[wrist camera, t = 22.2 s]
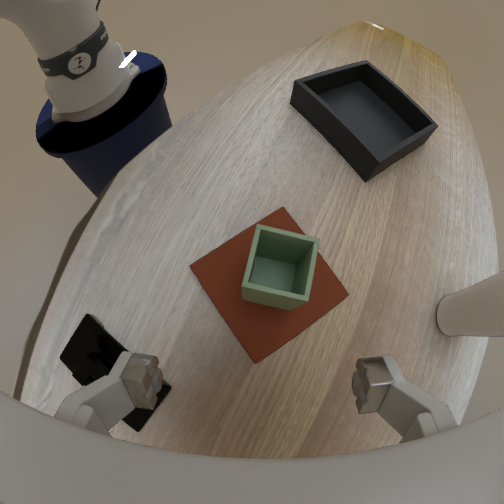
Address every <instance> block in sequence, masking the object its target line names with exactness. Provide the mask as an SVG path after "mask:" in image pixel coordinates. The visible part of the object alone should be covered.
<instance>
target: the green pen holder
mask: <svg viewBox="0 0 504 504" xmlns="http://www.w3.org/2000/svg"><path fill="white" fill-rule="evenodd" d="M319 240H320V239H318V238H314V237H310V236H306V235H302V234H298V233H294V232H290V231H286V230H282V229H277V228H273V227H269V226H265V225H261V224H257V226H256V230H255V234H254V238H253V242H252V246H251V250H250V254H249V258H248V262H247V266H246V270H245V274H244V278H243V282H242V300H245V301H250V302H254V303H258V304H262V305H267V306H271V307H275V308H280V309H284V310H289V311H291V310H293V309H295V308H297V307H299V306H301V305H303V304H304V303H306V302H308V300H309V295H310V290H311V285H312V280H313V274H314V269H315V263H316V258H317V252H318V246H319Z"/></svg>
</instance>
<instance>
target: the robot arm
mask: <svg viewBox="0 0 504 504" xmlns="http://www.w3.org/2000/svg"><path fill="white" fill-rule="evenodd" d="M100 1H101V0H98V3H97V5H96V8H95V5H94V2H93V0H0V18H3V19H6V20H9V21H11V22H12V23H14V24H15V25H17V26H18V27H19V28H20V29H21V30H22V31H23V33H24V34H25V36H26V37H27V38H28V40H29V42H30V43H31V45H32V46H33V48H34V50H35V51H36V53H37V55H38V62H39V64H40V68H41V69H42V70H43V72H44V73H45V75H46V76H47V79H46V82H45V87H44V90H45V92H46V94H47V96H48V97H49V99H50V101H51V103H52V104H53V109H52V121H53V123H55V124H56V123H61V122H64V121H68V122H82V121H86V120H89V119H92V118H94V117H96V116H98V115H100V114H102V113H103V112H105V111H107V110H108V109H110V108H111V107H112V106H114V105H115V104H116V103H117V102H118V101H119V100H120V99H121V98H122V97H123V96H124V95H125V93H126V92H127V90H128V89H129V86H130V84H131V82H132V80H133V79H134V78H135V77H136V76H137V75H138V74H139V73H140V69H139V67H138V66H137V65H135V64H133V63H132V62H130V60H131V59H132V58H133V57H134V56H135V55H136V51H135V50H134V51H133V52H132V53H131V54H130V55H129V56H128V57H127V58H126V57H125V55H124V53H123V50H122V48H121V45H120V44H119V43H116V42H115V41H111V40H109V39H108V34H107V30H106V27H105V26H104V24H103V22H102V21H100V20H99V18H98V14H97V10H98V6H99V3H100ZM158 364H159V361H158V358H157V357H156V356H153V355H147V354H140V353H132V352H127V351H123V352H122V353H121V354H120V356H119V358H118V359H117V361H116V363H115V364H114V366H113V368H112V370H111V371H110V373H109V375H108V376H103V377H101V378H100V379H98V380H96V381H94V382H93V383H91V384H89V385H87V386H85V387H84V388H82V389H80V390H78V391H77V392H75V393H73V394H71V395H69V396H68V397H66V398H65V399H64V401H63V402H62V404H61V406H60V407H59V409H58V410H57V412H56V414H55V416H54V417H52V416H50V415H48V414H45V413H43V412H41V411H39V410H37V409H34V408H32V407H30V406H28V405H26V404H24V403H22V402H20V401H18V400H16V399H14V398H12V397H10V396H9V395H7V394H5V393H3V392H1V391H0V504H504V407H501V408H499V409H497V410H495V411H493V412H491V413H488V414H486V415H484V416H482V417H479V418H477V419H475V420H472V421H470V422H467V423H465V424H462V425H459V426H458V425H457V423H456V421H455V419H454V417H453V415H452V413H451V411H450V409H449V407H448V405H446V404H444V403H443V402H441V401H440V400H438V399H437V398H435V397H433V396H432V395H430V394H429V393H427V392H426V391H424V390H423V389H421V388H419V387H418V386H416V385H415V384H413V383H412V382H410V381H406V380H405V378H404V376H403V374H402V372H401V370H400V368H399V366H398V364H397V362H396V360H395V358H394V356H393V355H386V356H381V357H380V356H378V357H370V358H360V359H358V360H357V363H356V368H357V370H356V371H355V372H354V373H353V376H352V384H351V385H352V391H353V394H354V395H355V396H356V397H357V399H356V406H357V409H358V413H359V414H364V413H373V412H378V414H379V415H380V416H381V417H383V418H384V419H385V420H386V421H387V422H388V423H389V424H390V425H391V426H392V427H393V428H394V429H395V430H396V431H397V432H398V433H399V434H400V435H401V436H403V438H402V440H401V441H400V442H399V444H396V445H391V446H387V447H382V448H377V449H372V450H366V451H360V452H354V453H347V454H339V455H331V456H320V457H308V458H288V459H249V458H229V457H216V456H206V455H197V454H190V453H183V452H176V451H170V450H165V449H159V448H154V447H149V446H145V445H140V444H136V443H132V442H128V441H124V440H120V439H116V438H113V437H112V436H111V435H110V434H109V432H108V430H109V429H111V428H112V427H113V426H114V425H116V424H117V423H118V422H119V421H120V420H122V419H123V418H124V417H125V416H126V415H128V414H129V413H130V412H131V411H132V410H133V409H135V407H137V408H143V409H150V410H154V407H155V404H156V401H157V399H158V398H157V396H156V393H158V392H159V391H160V390H161V388H162V383H163V375H162V371H161V369H160V368H158V367H157V366H158Z"/></svg>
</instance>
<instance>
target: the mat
mask: <svg viewBox="0 0 504 504" xmlns="http://www.w3.org/2000/svg"><path fill="white" fill-rule="evenodd" d="M257 224H261V225H265V226H269V227H273V228H277V229H282V230H286V231H290V232H294V233H298V234H302V235H305V234H304V233H303V231H302V230H301V229H300V227H299V226H298V225H297V223H296V222H295V221H294V220H293V218H292V217H291V216H290V214H289V213H288V212H287V211H286V209H285V208H284V207H281V208H280V209H278V210H276V211H275V212H273V213H271V214H270V215H268V216H267V217H265V218H263V219H262V220H260V221H259V222H257V223H255V224H254V225H252V226H251V227H249V228H247V229H246V230H244V231H243V232H241V233H240V234H238V235H236V236H235V237H233V238H232V239H230V240H229V241H227V242H225V243H224V244H222V245H221V246H219V247H218V248H216V249H214V250H213V251H211V252H210V253H208V254H207V255H205V256H203V257H202V258H200V259H199V260H197V261H196V262H194V263H193V264H191V265H190V267H191V269H192V270H193V272H194V274H195V275H196V277H197V278H198V280H199V281H200V283H201V284H202V286H203V288H204V289H205V291H206V292H207V294H208V295H209V297H210V298H211V300H212V301H213V303H214V304H215V306H216V307H217V309H218V310H219V312H220V313H221V315H222V316H223V318H224V319H225V321H226V322H227V324H228V325H229V327H230V328H231V330H232V331H233V332H234V334H235V335H236V337H237V338H238V340H239V341H240V342H241V344H242V345H243V347H244V348H245V350H246V351H247V352H248V354H249V355H250V357H251V358H252V359H253V361H254V362H255V364H256V363H258V362H259V361H261V360H262V359H264V358H265V357H267V356H268V355H270V354H271V353H273V352H274V351H275V350H277V349H278V348H280V347H281V346H283V345H284V344H285V343H287V342H288V341H290V340H291V339H292V338H294V337H295V336H296V335H298V334H299V333H301V332H302V331H303V330H305V329H306V328H307V327H309V326H310V325H311V324H313V323H314V322H315V321H317V320H318V319H319V318H320V317H322V316H323V315H324V314H326V313H327V312H328V311H330V310H331V309H332V308H333V307H335V306H336V305H337V304H338V303H340V302H341V301H342V300H343V299H345V298H346V297H347V296H348V295H349V294H348V292H347V291H346V289H345V288H344V287H343V285H342V284H341V282H340V281H339V280H338V278H337V277H336V276H335V274H334V273H333V271H332V270H331V269H330V267H329V266H328V265H327V263H326V262H325V260H324V259H323V258H322V256H321V255H320V254H319V252H317V258H316V263H315V269H314V274H313V280H312V285H311V290H310V295H309V300H308V302H306V303H304V304H303V305H301V306H299V307H297V308H295V309H293V310H291V311H289V310H284V309H280V308H275V307H271V306H267V305H262V304H258V303H254V302H250V301H245V300H242V282H243V278H244V274H245V270H246V266H247V262H248V258H249V254H250V250H251V246H252V242H253V238H254V234H255V230H256V226H257Z"/></svg>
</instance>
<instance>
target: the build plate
mask: <svg viewBox="0 0 504 504" xmlns="http://www.w3.org/2000/svg"><path fill="white" fill-rule="evenodd" d="M123 351H127V352H129V351H128V350H127V349H125V348H124V347H123V346H122V345H121V344H120V343H119V342H118V341H117V340H115V339H114V338H113V337H112V336H111V335H110V334H109V333H108V332H107V331H106V330H105V329H104V327H103V324H102V323H101V322H100V321H99V320H98V319H97V318H96V317H95V316H94V315H90V314H86V315H85V317H84V318H83V320H82V321H81V323H80V324H79V326H78V328H77V329H76V331H75V332H74V334H73V336H72V337H71V339H70V341H69V342H68V344H67V345H66V347H65V349H64V350H63V352H62V354H61V356H60V359H61V361H62V362H63V363H64V364H65V365H66V366H67V367H68V368H69V369H70V370H71V372H72V373H73V375H72V376H73V377H74V378H75V379H76V380H77V381H78V382H79V383H80V384H81V385H82V386H84V385H85V386H87V385H89V384H91V383H93V382H94V381H96V380H98V379H100V378H101V377H103V376H108V375H109V373H110V371H111V370H112V368H113V366H114V364H115V363H116V361H117V359H118V358H119V356H120V354H121V353H122V352H123ZM170 390H171V386H170V385H169V384H168V383H166V382H165V381H164V380H163V383H162V388H161V390H160V391H159V392H158V393H156V396H157V398H158V399H157V401H156V404H155V407H154V410H150V409H143V408H137V407H135V409H133V410H132V411H131V412H130V413H129V414H128V415H126V416H125V417H124V418H123V419H122V420H123V421H124V422H126V423H127V424H128V425H129V426H130V427H132V428H133V429H134V430H135V431H137V432H139V431H140V430H141V429H142V427H143V426H144V425H145V423H146V422H147V421H148V419H149V418H150V417H151V415H152V414H153V413H154V411H155V410H156V409H157V407H158V406H159V405H160V403H161V402H162V401H163V399H164V398H165V397H166V395H167V394H168V393H169V391H170Z"/></svg>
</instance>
